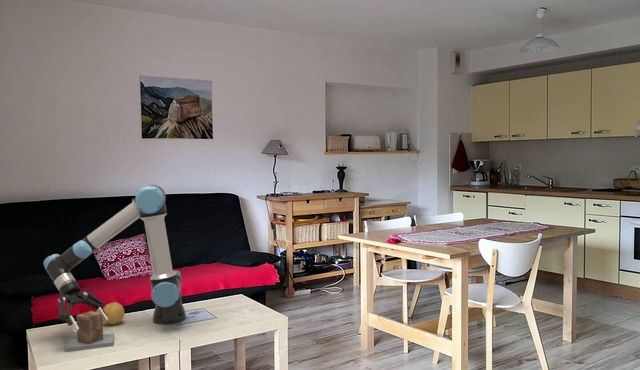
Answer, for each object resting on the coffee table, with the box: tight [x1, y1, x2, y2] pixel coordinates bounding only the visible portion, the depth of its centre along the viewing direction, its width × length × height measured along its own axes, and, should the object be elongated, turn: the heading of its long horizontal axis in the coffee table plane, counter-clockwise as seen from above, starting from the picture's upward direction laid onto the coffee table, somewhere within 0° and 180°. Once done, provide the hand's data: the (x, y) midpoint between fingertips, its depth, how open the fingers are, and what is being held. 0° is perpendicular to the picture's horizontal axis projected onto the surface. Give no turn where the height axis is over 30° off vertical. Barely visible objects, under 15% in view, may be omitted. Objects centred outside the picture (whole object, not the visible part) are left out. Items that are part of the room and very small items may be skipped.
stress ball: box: [102, 302, 125, 325], centre depth 249 cm, size 10×10×10 cm
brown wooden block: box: [76, 310, 104, 344], centre depth 221 cm, size 7×7×11 cm
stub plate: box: [64, 333, 115, 353], centre depth 222 cm, size 18×12×8 cm, turn 109°
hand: (91, 325), depth 221 cm, fingers open, 13 cm apart
